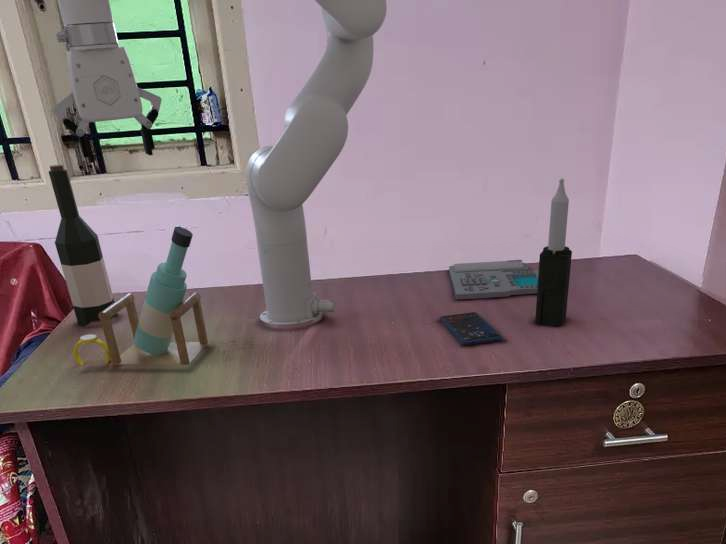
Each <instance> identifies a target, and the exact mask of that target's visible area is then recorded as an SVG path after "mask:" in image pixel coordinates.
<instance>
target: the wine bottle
mask: <svg viewBox="0 0 726 544" xmlns="http://www.w3.org/2000/svg"><path fill="white" fill-rule="evenodd" d="M49 169H50V170H48V175H49V178H50V183H51V186H52V189H53V193H54V196H55V200H56V204H57V207H58V210H59V215H60V222H59V225H58V229H57V233H56V236H55V241H54V246H55V249H56V252H57V256H58V259H59V262H60V266H61V270H62V273H63V276H64V279H65V284H66V286H67V287H66V288H67V290H68V293H69V297H70V301H71V304H72V307H73V311H74V315H75V318H76V321H77V325H78V326H79V327H86V326H88V325H89V324H90V323H92V322H101V320H100V319H99V317H98V315H99V313H100V312H102V311H103V310H104V309H106V308H107V307H109V306H110V305H112V304H113V303H114V302H115V298H114V295H113V291H112V287H111V282H110V279H109V275H108V272H107V267H106V264H105V259H104V255H103V252H102V248H101V243H100V240H99V236H98V234H97V233H96V232H95V231H94V230H93V229H92V227H90V225H89V224H88V223H87V222H86V221H85V220H84V219H83V218H82V216H80V213H79V210H78V206H77V202H76V198H75V194H74V191H73V187H72V183H71V179H70V175H69V172H68V169H67V168H65V166H64V164H54V165H50V166H49ZM111 318H119V314H118V313H116V314H115V315H113V316H112V317H111Z"/></svg>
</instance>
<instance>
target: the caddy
mask: <svg viewBox="0 0 726 544" xmlns="http://www.w3.org/2000/svg"><path fill="white" fill-rule="evenodd" d="M134 300H135V296H134V294H132V293H130V292H127V293H126V294H124V295H123V296H122V297H119V298H118V299H117V300H116V301H114V303H113V304H112V305H110V306H109V307H107V308H106V309H104V310H103V311H102V312H100V313H99V315H98V317H99V319H100V320H101V321H100V324H101V327H102V331H103V334H104V335H103V336H104V338H105V343H106V345H107V346H108V349H109V353H110V357H111V358H110V361H111V363H110V365H146V366H147V365H149V366H150V365H152V366H153V365H154V366H155V365H156V366H157V365H160V366H161V365H162V366H164V365H165V366H166V365H167V366H168V365H169V366H170V365H172V366H174V365H177V366H179V365H181V366H182V365H183V366H185V365H186V366H189V365H190V364H191V363H192V362H193V360H194V359H195V358H196V357H197V356H199V354H200V353H201V352H202V351H203V350H204V349H205V348H206V347H207V346H208V345H209V343H210V341H209V340H208V334H207V330H206V323H205V319H204V314H203V309H202V303H201V295H200V293H199V292H192V294H190V295H189V296H188V297H186V298H185V299H183V302H182V303H181V304H180V305H179V306H177V307H176V308H175V309H174V310H173V311H172V312H170V314H169V317H170V319H171V322H172V326H173V331H174V332H173V336H174V340H175V341H170V344H169V347H168V350H167V352H166V353H165V354H161V355H156V354H151V353H147V352H145V351H143V350H141V349H140V348H138V347H137V346H136V345H135V343H134V342H133V344H132V345H131V346H129V347H128V348H127V349H126V350H125V351H123V352H122V353H121V354H120V351H119V347H118V344H117V343H118V342H117V339H116V336H115V332H114V328H113V325H112V320H111V318H113V317H112V316H113V315H115V314H116V313H117V314H118V313H119V312H120V311H122V310H123V309H125V308H126V312H127V317H128V321H129V324H130V329H131V334H132V336H133V338H134V337H135V333H136V330H137V326H138V321H139V317H138V312H137V309H136V308H137V307H136V304H135V301H134ZM190 309H192V311H193V317H194V321H195V326H196V332H197V336H198V341H186V338H185V333H184V328H183V323H182V319H181V318H182V316H184V314H186V313H187V312H188V311H190Z"/></svg>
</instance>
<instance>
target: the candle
mask: <svg viewBox="0 0 726 544" xmlns="http://www.w3.org/2000/svg"><path fill="white" fill-rule="evenodd" d="M558 182H559V185H558V187H557V189H556V193H555V195H554V196H553V197H552V199H551V201H550V202H551V203H550V215H549V229H548V242H547V243H548V244H547V246H544V247H543V248H542V251H541V252H540V253H539V261H538V270H539V273H538V287H537V293H536V303H535V317H534V324H535V325H537V326H548V327H562V326H563V324H565V322H566V320H567V311H568V310H567V309H568V301H569V299H568V297H569V290H570V289H569V288H570V278H571V266H572V255H573V251H572V250H571V249H570V247H569V246H566V238H567V225H568V215H569V214H568V213H569V205H570V204H569V203H570V199H569V197H568V196H567V194H566V189H565V179H564V178H560V179H559V180H558Z"/></svg>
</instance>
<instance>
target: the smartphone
mask: <svg viewBox="0 0 726 544" xmlns="http://www.w3.org/2000/svg"><path fill="white" fill-rule="evenodd" d="M439 321H440V322H441V323H442V324H443V325H444V326H445V327H446V328H447V329H448V330H449V332H451V334H452V335H453V336H454V337H455V338H456V339H457V341H459V342H460V343H461V345H463V346H470V345H478V344H483V343H484V344H485V343H491V342H498V341H499V342H500V341H502V340H503V336H502V335H501V334H500V333H499V332H498V331H497V330H496V329H495V328H493V326H491V325H490V324H489V323H488V322H487V321H486V320H485V319H484V318H483V317H482V316H481V315H480V314H479V313H477V312H476V311H472V312H464V313H456V314H448V315H442V316H440V317H439Z"/></svg>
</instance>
